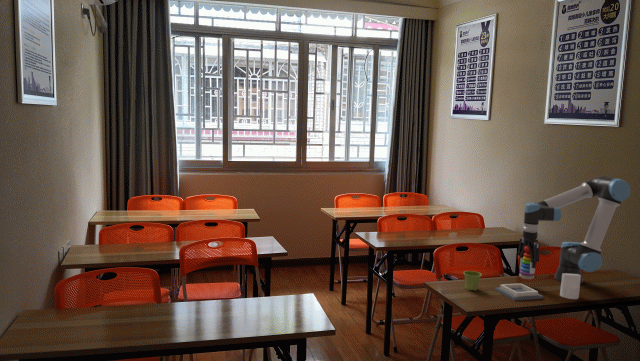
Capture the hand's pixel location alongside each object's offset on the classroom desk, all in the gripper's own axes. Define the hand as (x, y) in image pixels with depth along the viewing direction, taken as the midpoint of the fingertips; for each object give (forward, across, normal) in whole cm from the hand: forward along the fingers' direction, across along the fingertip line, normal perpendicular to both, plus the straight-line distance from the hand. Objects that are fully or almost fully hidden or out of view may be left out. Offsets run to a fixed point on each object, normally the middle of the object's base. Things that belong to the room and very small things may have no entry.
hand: (527, 271), depth 286 cm
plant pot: (+8, -1, -35) cm, 36 cm away
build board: (+9, +11, -14) cm, 19 cm away
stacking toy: (+4, 0, 0) cm, 4 cm away
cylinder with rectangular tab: (+9, +18, +13) cm, 24 cm away
